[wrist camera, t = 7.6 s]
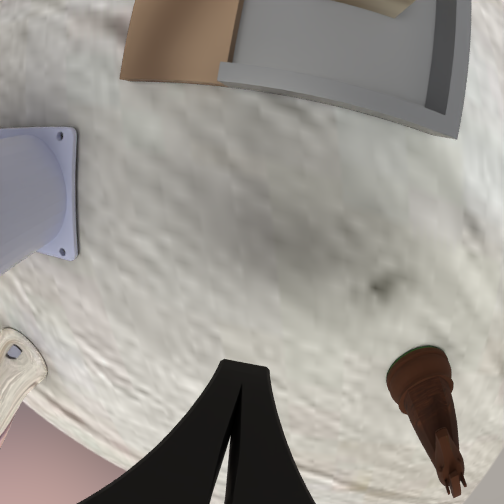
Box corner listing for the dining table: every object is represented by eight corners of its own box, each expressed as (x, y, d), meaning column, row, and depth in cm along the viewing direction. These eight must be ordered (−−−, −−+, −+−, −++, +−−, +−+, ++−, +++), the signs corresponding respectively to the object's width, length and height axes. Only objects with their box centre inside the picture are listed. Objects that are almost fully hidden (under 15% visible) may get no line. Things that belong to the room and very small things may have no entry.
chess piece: (441, 334, 17) (501, 459, 8) (450, 379, 19) (493, 488, 10) (378, 364, 19) (410, 501, 10) (395, 404, 20) (420, 520, 11)
